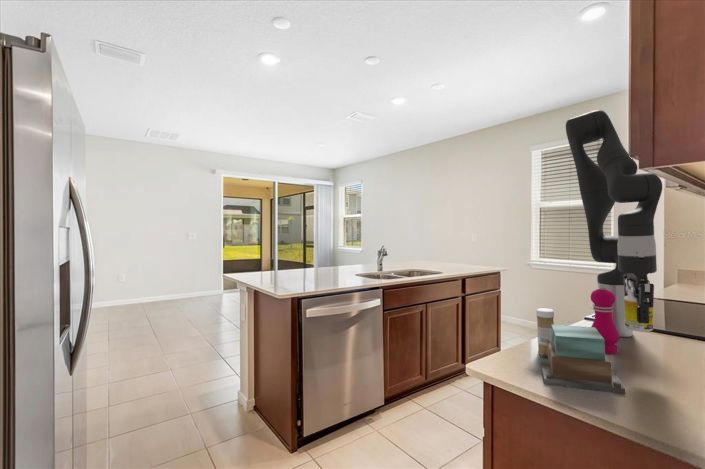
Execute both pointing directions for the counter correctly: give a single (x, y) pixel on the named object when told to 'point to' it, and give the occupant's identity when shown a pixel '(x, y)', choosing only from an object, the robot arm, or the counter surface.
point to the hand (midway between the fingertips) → (638, 318)
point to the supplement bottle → (635, 315)
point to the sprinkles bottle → (544, 328)
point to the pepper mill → (605, 317)
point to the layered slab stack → (579, 360)
